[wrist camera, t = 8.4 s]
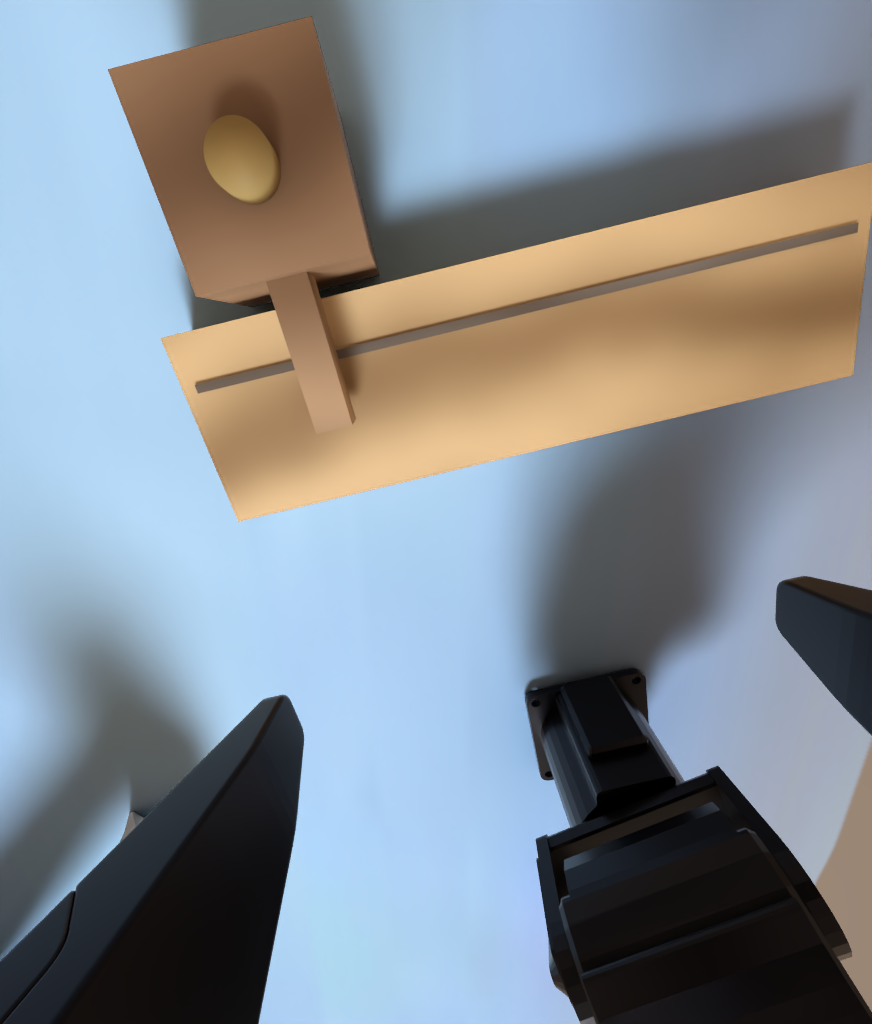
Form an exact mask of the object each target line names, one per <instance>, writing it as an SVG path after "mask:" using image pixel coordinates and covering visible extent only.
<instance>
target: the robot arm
mask: <svg viewBox="0 0 872 1024" xmlns="http://www.w3.org/2000/svg"><path fill="white" fill-rule="evenodd" d="M775 619H776V624H777V627H778V629H779V631H780V633H781V634H782V636H783V637H784V638H785V639H786V640H787V641H788V643H789V644H790V645H791V646H792V647H793V648H794V650H795V651H796V652H797V653H798V654H799V656H800V657H801V658H802V659H803V660H804V661H805V663H806V664H807V665H808V666H809V667H810V669H811V670H812V671H813V672H814V673H815V674H816V676H817V677H818V678H819V679H820V680H821V681H822V683H823V684H824V685H825V686H826V687H827V689H828V690H829V691H830V692H831V693H832V694H833V696H834V697H835V698H836V699H837V700H838V701H839V702H840V703H841V705H842V706H843V707H844V708H845V709H846V710H847V711H848V712H849V713H850V714H851V715H852V716H853V717H854V718H855V719H856V720H857V721H858V722H859V723H860V724H861V725H862V726H863V727H864V728H865V729H866V730H867V731H868V732H869V733H870V734H871V735H872V590H867V589H863V588H858V587H854V586H849V585H845V584H840V583H836V582H831V581H826V580H822V579H817V578H813V577H808V576H801V577H796V578H792V579H787V580H783V581H782V582H780V583H779V584H778V586H777V593H776V618H775ZM635 677H636V678H635ZM633 678H635V679H633ZM534 700H537V701H535V702H532V701H534ZM525 703H526V708H527V713H528V718H529V723H530V728H531V733H532V738H533V743H534V748H535V753H536V758H537V763H538V768H539V772H540V775H541V777H542V779H544V780H553V779H554V781H555V784H556V786H557V789H558V792H559V795H560V798H561V801H562V804H563V807H564V810H565V813H566V816H567V819H568V822H569V825H570V828H568V829H566V830H563V831H561V832H558V833H556V834H553V835H551V836H547V835H544V836H542V837H539V838H537V839H536V845H537V851H538V857H539V858H537V867H538V873H539V879H540V886H541V892H542V899H543V905H544V912H545V918H546V925H547V931H548V937H549V968H550V973H551V977H552V980H553V982H554V984H555V986H556V987H557V988H558V989H559V990H560V991H561V992H563V993H564V994H565V995H566V996H567V997H569V999H570V1002H571V1004H572V1006H573V1008H574V1010H575V1012H576V1014H577V1016H578V1019H579V1021H580V1023H581V1024H872V1012H871V1010H870V1009H869V1007H868V1006H867V1004H866V1002H865V1001H864V999H863V998H862V996H861V994H860V993H859V991H858V990H857V988H856V986H855V985H854V983H853V982H852V980H851V979H850V977H849V975H848V974H847V972H846V970H845V969H844V967H843V966H842V964H841V962H840V960H843V959H846V958H849V957H852V951H851V948H850V946H849V943H848V941H847V939H846V937H845V935H844V933H843V931H842V929H841V928H840V926H839V924H838V922H837V920H836V919H835V917H834V915H833V913H832V912H831V910H830V909H829V907H828V905H827V904H826V902H825V900H824V899H823V897H822V896H821V894H820V893H819V891H818V890H817V888H816V887H815V885H814V884H813V882H812V881H811V879H810V878H809V876H808V875H807V873H806V872H805V870H804V869H803V868H802V866H801V865H800V863H799V862H798V861H797V859H796V858H795V857H794V855H793V854H792V853H791V851H790V850H789V849H788V847H787V846H786V845H785V844H784V842H783V841H782V840H781V839H780V838H779V836H778V835H777V834H776V833H775V832H774V831H773V829H772V828H771V827H770V826H769V825H768V824H767V822H766V821H765V820H764V819H763V818H762V817H761V815H760V814H759V813H758V812H757V811H756V809H755V808H754V807H753V806H752V805H751V804H750V802H749V801H748V800H747V799H746V798H745V797H744V795H743V794H742V793H741V792H740V791H739V790H738V788H737V787H736V786H735V785H734V784H733V783H732V781H731V780H730V779H729V778H728V777H727V776H726V774H725V773H724V772H723V771H722V770H721V769H720V767H719V766H716V767H713V768H711V769H708V770H706V772H707V773H705V774H702V775H700V776H697V777H695V778H693V779H690V780H688V781H684V780H683V778H682V776H681V775H680V773H679V772H678V770H677V768H676V767H675V765H674V764H673V762H672V761H671V759H670V757H669V756H668V754H667V753H666V751H665V749H664V748H663V746H662V745H661V743H660V741H659V740H658V738H657V737H656V735H655V734H654V732H653V730H652V729H651V727H650V726H649V723H648V708H647V693H646V679H645V676H644V674H643V673H642V672H641V670H639V669H637V668H632V669H627V670H623V671H618V672H614V673H610V674H605V675H601V676H596V677H592V678H588V679H583V680H579V681H574V682H570V683H566V684H561V685H557V686H552V687H548V688H544V689H539V690H535V691H531V692H529V693H528V694H527V695H526V697H525ZM303 746H304V733H303V728H302V726H301V723H300V721H299V719H298V716H297V714H296V712H295V710H294V707H293V705H292V703H291V701H290V699H289V698H288V697H287V696H286V695H279V696H275V697H270V698H266V699H264V700H262V701H261V702H260V703H259V704H258V705H257V706H256V707H255V708H254V709H253V710H252V711H251V712H250V713H249V714H248V715H247V716H246V717H245V718H244V719H243V720H242V721H241V722H240V723H239V724H238V725H237V726H236V727H235V728H234V729H233V730H232V731H231V732H230V733H229V734H228V735H227V736H226V737H225V738H224V739H223V740H222V741H221V742H220V743H219V744H218V745H217V746H216V747H215V748H214V749H213V750H212V751H211V752H210V753H209V754H208V755H207V756H206V757H205V758H204V759H203V760H202V761H201V762H200V763H199V764H198V765H197V766H196V767H195V768H194V769H193V770H192V771H191V772H190V773H189V774H188V775H187V776H186V777H185V778H184V779H183V780H182V781H181V782H180V783H179V784H178V785H177V786H176V787H175V788H174V789H173V790H172V791H171V792H170V793H169V794H168V795H167V796H166V797H165V798H164V799H163V800H162V801H161V802H160V803H159V804H158V805H157V806H156V807H155V808H154V809H153V810H152V811H151V812H150V813H149V814H148V815H147V816H146V817H145V818H144V819H143V820H142V821H141V822H140V823H139V824H138V825H137V826H136V827H135V828H134V829H133V830H132V831H131V832H130V833H129V834H128V835H127V836H126V837H125V838H124V839H123V840H122V841H121V842H120V843H119V844H118V845H117V846H116V847H115V848H114V849H113V850H112V851H111V852H110V853H109V854H108V855H107V856H106V857H105V858H104V859H103V860H102V861H101V862H100V863H99V864H98V865H97V866H96V867H95V868H94V869H93V870H92V871H91V872H90V873H89V874H88V875H87V876H86V877H85V878H84V879H83V880H82V881H81V882H80V883H79V884H78V885H77V887H76V891H71V892H70V893H69V894H68V895H67V896H66V897H65V898H64V899H63V900H62V901H61V902H60V903H59V904H58V905H57V906H56V907H55V908H54V909H53V910H52V911H51V912H50V913H49V914H48V915H47V916H46V917H45V918H44V919H43V920H42V921H41V922H40V923H39V924H38V925H37V926H36V927H35V928H34V929H33V930H32V931H31V932H30V933H28V934H27V935H26V936H25V937H24V938H23V939H22V940H21V941H20V942H19V943H18V944H17V945H16V946H15V947H14V948H13V949H12V950H11V951H10V952H9V953H8V954H7V955H6V956H5V957H4V958H3V959H2V960H1V961H0V1024H258V1023H259V1018H260V1013H261V1008H262V1002H263V997H264V992H265V987H266V982H267V976H268V971H269V966H270V961H271V956H272V951H273V945H274V940H275V935H276V930H277V925H278V920H279V914H280V909H281V904H282V899H283V894H284V888H285V883H286V878H287V873H288V868H289V863H290V857H291V852H292V847H293V841H294V835H295V830H296V821H297V812H298V801H299V790H300V779H301V768H302V757H303Z"/></svg>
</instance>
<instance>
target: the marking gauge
mask: <svg viewBox="0 0 872 1024" xmlns="http://www.w3.org/2000/svg"><path fill="white" fill-rule="evenodd" d="M108 71H109V74H110V76H111V79H112V81H113V84H114V87H115V89H116V92H117V94H118V97H119V100H120V102H121V105H122V107H123V110H124V112H125V115H126V118H127V120H128V123H129V125H130V128H131V130H132V133H133V136H134V138H135V141H136V143H137V146H138V149H139V151H140V154H141V156H142V159H143V161H144V164H145V167H146V169H147V172H148V174H149V177H150V180H151V182H152V185H153V187H154V190H155V192H156V195H157V198H158V200H159V203H160V205H161V208H162V211H163V213H164V216H165V218H166V221H167V223H168V226H169V229H170V231H171V234H172V236H173V239H174V241H175V244H176V247H177V249H178V252H179V254H180V257H181V260H182V262H183V265H184V267H185V270H186V272H187V275H188V278H189V280H190V283H191V285H192V288H193V291H194V293H195V296H196V297H201V298H206V299H212V300H217V301H222V302H228V303H233V304H238V305H244V306H249V307H253V306H257V305H261V304H265V303H269V302H273V305H274V308H275V311H276V314H277V317H278V320H279V323H280V326H281V329H282V332H283V335H284V338H285V341H286V344H287V347H288V350H289V353H290V356H291V359H292V362H293V365H294V368H295V371H296V374H297V377H298V380H299V383H300V386H301V389H302V392H303V395H304V398H305V401H306V404H307V407H308V410H309V413H310V416H311V419H312V423H313V426H314V429H315V432H316V434H318V433H322V432H327V431H331V430H335V429H339V428H343V427H347V426H351V425H353V423H354V422H355V420H356V417H355V414H354V410H353V407H352V403H351V400H350V397H349V393H348V390H347V386H346V383H345V379H344V376H343V373H342V369H341V366H340V362H339V359H338V356H337V352H336V349H335V345H334V342H333V339H332V335H331V332H330V328H329V325H328V322H327V318H326V315H325V311H324V308H323V305H322V301H321V298H320V294H319V291H318V290H321V289H325V288H329V287H333V286H337V285H341V284H345V283H349V282H353V281H357V280H361V279H365V278H369V277H373V276H377V275H379V272H378V268H377V264H376V260H375V256H374V252H373V248H372V244H371V240H370V236H369V232H368V227H367V223H366V219H365V215H364V211H363V207H362V203H361V199H360V195H359V191H358V187H357V183H356V179H355V174H354V170H353V166H352V162H351V158H350V154H349V150H348V146H347V142H346V138H345V134H344V130H343V126H342V121H341V117H340V113H339V110H338V106H337V103H336V99H335V96H334V92H333V89H332V85H331V82H330V78H329V75H328V71H327V68H326V64H325V61H324V57H323V54H322V51H321V47H320V44H319V40H318V37H317V33H316V30H315V26H314V23H313V19H312V16H310V17H306V18H302V19H298V20H294V21H291V22H287V23H283V24H279V25H275V26H272V27H268V28H264V29H260V30H256V31H253V32H249V33H245V34H241V35H237V36H234V37H230V38H226V39H222V40H218V41H214V42H211V43H207V44H203V45H199V46H195V47H192V48H188V49H184V50H180V51H176V52H173V53H169V54H165V55H161V56H157V57H153V58H150V59H146V60H142V61H138V62H134V63H131V64H127V65H123V66H119V67H115V68H112V69H108Z"/></svg>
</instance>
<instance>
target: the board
mask: <svg viewBox="0 0 872 1024" xmlns="http://www.w3.org/2000/svg"><path fill="white" fill-rule="evenodd" d="M871 213H872V162H871V163H867V164H863V165H859V166H855V167H850V168H846V169H842V170H838V171H834V172H830V173H826V174H822V175H818V176H814V177H810V178H806V179H802V180H798V181H794V182H790V183H786V184H782V185H778V186H774V187H770V188H766V189H762V190H758V191H754V192H749V193H745V194H741V195H737V196H733V197H729V198H725V199H721V200H717V201H713V202H709V203H705V204H701V205H697V206H693V207H689V208H685V209H681V210H677V211H673V212H669V213H665V214H661V215H657V216H652V217H648V218H644V219H640V220H636V221H632V222H628V223H624V224H620V225H616V226H612V227H608V228H604V229H600V230H596V231H592V232H588V233H584V234H580V235H576V236H572V237H568V238H564V239H560V240H556V241H551V242H547V243H543V244H539V245H535V246H531V247H527V248H523V249H519V250H515V251H511V252H507V253H503V254H499V255H495V256H491V257H487V258H483V259H479V260H475V261H471V262H467V263H463V264H459V265H454V266H450V267H446V268H442V269H438V270H434V271H430V272H426V273H422V274H418V275H414V276H410V277H406V278H402V279H398V280H394V281H390V282H386V283H382V284H378V285H374V286H370V287H366V288H362V289H358V290H353V291H349V292H345V293H341V294H337V295H333V296H329V297H325V298H321V301H322V305H323V308H324V311H325V315H326V318H327V322H328V325H329V328H330V332H331V335H332V339H333V342H334V345H335V349H336V352H337V356H338V359H339V362H340V366H341V369H342V373H343V376H344V379H345V383H346V386H347V390H348V393H349V397H350V400H351V403H352V407H353V410H354V414H355V417H356V420H355V422H354V423H353V425H351V426H347V427H343V428H339V429H335V430H331V431H327V432H322V433H318V434H316V432H315V429H314V426H313V423H312V419H311V416H310V413H309V410H308V407H307V404H306V401H305V398H304V395H303V392H302V389H301V386H300V383H299V380H298V377H297V374H296V371H295V368H294V365H293V362H292V359H291V356H290V353H289V350H288V347H287V344H286V341H285V338H284V335H283V332H282V329H281V326H280V323H279V320H278V317H277V314H276V311H275V310H273V311H269V312H265V313H261V314H256V315H252V316H248V317H244V318H240V319H236V320H232V321H228V322H224V323H220V324H216V325H212V326H208V327H204V328H200V329H196V330H192V331H188V332H184V333H180V334H176V335H172V336H168V337H164V338H161V340H162V343H163V345H164V348H165V350H166V352H167V355H168V357H169V359H170V362H171V364H172V366H173V369H174V371H175V373H176V376H177V378H178V380H179V383H180V385H181V388H182V390H183V392H184V395H185V397H186V399H187V402H188V404H189V406H190V409H191V411H192V413H193V416H194V418H195V420H196V423H197V425H198V428H199V430H200V432H201V435H202V437H203V439H204V442H205V444H206V446H207V449H208V451H209V453H210V456H211V458H212V460H213V463H214V465H215V467H216V470H217V472H218V475H219V477H220V479H221V482H222V484H223V486H224V489H225V491H226V493H227V496H228V498H229V500H230V503H231V505H232V507H233V510H234V512H235V515H236V517H237V519H238V522H239V521H243V520H247V519H251V518H256V517H260V516H264V515H268V514H272V513H277V512H281V511H285V510H289V509H293V508H298V507H302V506H306V505H310V504H314V503H319V502H323V501H327V500H331V499H335V498H340V497H344V496H348V495H352V494H356V493H361V492H365V491H369V490H373V489H377V488H382V487H386V486H390V485H394V484H398V483H403V482H407V481H411V480H415V479H419V478H424V477H428V476H432V475H436V474H440V473H445V472H449V471H453V470H457V469H461V468H466V467H470V466H474V465H478V464H482V463H487V462H491V461H495V460H499V459H503V458H508V457H512V456H516V455H520V454H524V453H529V452H533V451H537V450H541V449H545V448H550V447H554V446H558V445H562V444H566V443H571V442H575V441H579V440H583V439H587V438H592V437H596V436H600V435H604V434H608V433H613V432H617V431H621V430H625V429H629V428H634V427H638V426H642V425H646V424H650V423H655V422H659V421H663V420H667V419H671V418H676V417H680V416H684V415H688V414H692V413H697V412H701V411H705V410H709V409H713V408H718V407H722V406H726V405H730V404H734V403H739V402H743V401H747V400H751V399H755V398H760V397H764V396H768V395H772V394H776V393H781V392H785V391H789V390H793V389H797V388H802V387H806V386H810V385H814V384H818V383H823V382H827V381H831V380H835V379H839V378H844V377H848V376H852V375H853V370H854V361H855V353H856V344H857V335H858V326H859V318H860V309H861V300H862V291H863V283H864V274H865V265H866V256H867V248H868V239H869V230H870V221H871Z"/></svg>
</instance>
